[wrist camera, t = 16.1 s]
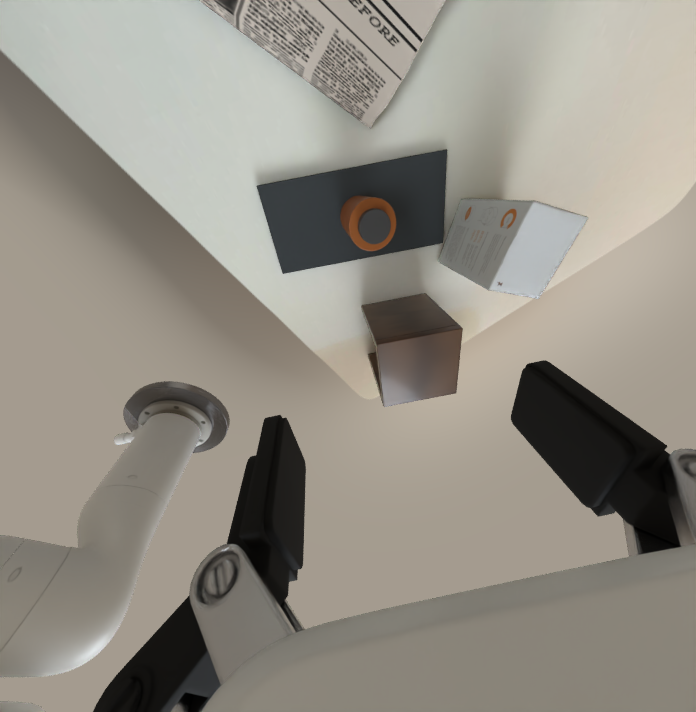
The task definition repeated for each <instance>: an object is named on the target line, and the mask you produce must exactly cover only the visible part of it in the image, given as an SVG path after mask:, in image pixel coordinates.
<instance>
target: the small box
mask: <svg viewBox="0 0 696 712" xmlns="http://www.w3.org/2000/svg"><path fill="white" fill-rule="evenodd" d="M587 220H588V217H586V216H583V215H580V214H576V213H573V212H570V211H567V210H563V209H560V208H557V207H554V206H551V205H548V204H544V203H541V202H538V201H521V200H492V199H461V201H460V204H459V206H458V209H457V212H456V214H455V217H454V220H453V222H452V225H451V228H450V230H449V233H448V236H447V238H446V241H445V244H444V246H443V249H442V252H441V255H440V257H439V260H438V262H440V263H441V264H443V265H445V266H447V267H448V268H450V269H451V270H453V271H455V272H457V273H459V274H461V275H462V276H464V277H466V278H468V279H470V280H471V281H473V282H475V283H477V284H478V285H480V286H482V287H484V288H486V289H487V290H490V291H497V292H503V293H508V294H514V295H520V296H525V297H530V298H535V299H539V298H540V296H541V295H542V293H543V291H544V290H545V288H546V286H547V285H548V283H549V281H550V280H551V278H552V277H553V275H554V273H555V272H556V270H557V268H558V267H559V265H560V263H561V262H562V260H563V259H564V257H565V255H566V254H567V252H568V250H569V249H570V247H571V246H572V244H573V242H574V241H575V239H576V237H577V236H578V234H579V232H580V231H581V229H582V228H583V226H584V224H585V223H586V221H587Z"/></svg>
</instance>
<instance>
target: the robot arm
mask: <svg viewBox="0 0 696 712" xmlns="http://www.w3.org/2000/svg"><path fill="white" fill-rule="evenodd" d="M511 420H512V422H513V424H514V426H515V427H516V428H517V429H518V430H519V431H520V433H521V434H522V435H523V436H524V437H525V438H526V440H527V441H528V442H529V443H530V444H531V445H532V446H533V448H534V449H535V450H536V451H537V452H538V453H539V454H540V455H541V457H542V458H543V459H544V460H545V461H546V463H547V464H548V465H549V466H550V467H551V468H552V469H553V471H554V472H555V473H556V474H557V475H558V476H559V477H560V479H561V480H562V481H563V482H564V483H565V484H566V485H567V487H568V488H569V489H570V490H571V491H572V492H573V493H574V495H575V496H576V497H577V498H578V499H579V500H580V502H581V503H583V504H584V505H585V506H586V507H589V508H591V509H592V510H593V511H594V513H595V514H596V515H597V516H603V515H608V514H612V513H614V512H615V511H616V512H617V513H618V514H619V515H620V516H621V517H622V518H623V522H624V528H625V534H626V541H627V547H628V553H629V557H627V558H622V559H617V560H612V561H607V562H603V563H598V564H593V565H588V566H584V567H578V568H573V569H569V570H564V571H559V572H554V573H550V574H545V575H541V576H535V577H531V578H526V579H521V580H516V581H512V582H507V583H503V584H498V585H493V586H488V587H484V588H479V589H474V590H470V591H465V592H460V593H456V594H451V595H446V596H442V597H437V598H432V599H428V600H423V601H419V602H414V603H410V604H405V605H401V606H396V607H391V608H387V609H382V610H378V611H373V612H369V613H365V614H361V615H357V616H353V617H349V618H344V619H340V620H336V621H332V622H328V623H324V624H322V625H318V626H315V627H311V628H308V629H304V627H303V626H302V624H301V622H300V621H299V619H298V618H297V616H296V615H295V613H294V612H293V610H292V609H291V607H290V605H289V604H288V602H287V601H286V597H287V596H288V586H289V585H288V584H289V582H290V581H295V580H297V573H298V569H301V568H302V566H303V545H304V510H305V473H306V467H305V460H304V458H303V456H302V453H301V451H300V448H299V446H298V444H297V441H296V439H295V437H294V434H293V432H292V429H291V427H290V425H289V422H288V420H287V418H282V417H281V415H278V416H273V417H268V418H265V419H264V423H263V427H262V432H261V437H260V441H259V445H258V450H257V455H256V456H252V457H250V458H249V459H248V462H247V465H246V469H245V473H244V477H243V481H242V485H241V489H240V493H239V497H238V501H237V505H236V509H235V513H234V517H233V521H232V525H231V529H230V533H229V537H228V542H227V544H225V545H222V546H220V547H218V548H216V549H215V550H213V551H212V552H211V553H210V554H208V555H207V557H206V558H205V559H204V560H203V561H202V562H201V564H200V565H199V567H198V569H197V570H196V572H195V574H194V577H193V579H192V582H191V586H190V593H189V594H190V595H189V596H188V598H187V599H186V600H185V601H184V602H183V603H182V604H181V605H180V606H179V607H178V609H177V610H176V611H175V612H174V613H173V614H172V615H171V616H170V617H169V618H168V619H167V621H166V622H165V623H164V624H163V625H162V626H161V627H160V628H159V629H158V630H157V632H156V633H155V634H154V635H153V636H152V637H151V638H150V639H149V641H148V642H146V644H145V645H144V646H143V647H142V648H141V649H140V650H139V651H138V652H137V653H136V655H135V656H134V657H133V658H132V659H131V660H130V661H129V662H128V663H127V664H126V666H124V668H123V669H122V670H121V671H120V672H119V673H118V674H117V675H116V677H115V678H114V679H113V680H112V682H111V683H110V684H109V685H108V687H107V688H106V689H105V691H104V693H103V695H102V696H101V698H100V699H99V701H98V703H97V704H96V707H95V709H94V711H93V712H696V450H693V449H679V450H675V451H673V452H672V453H671V455H670V454H669V453H667V452H666V451H665V448H666V447H667V445H665V444H664V443H663V442H661V441H660V440H658V439H657V438H655V437H654V436H653V435H651V434H650V433H648V432H647V431H646V430H644V429H643V428H641V427H640V426H638V425H637V424H636V423H634V422H633V421H631V420H630V419H629V418H627V417H626V416H624V415H623V414H622V413H620V412H619V411H617V410H616V409H614V408H613V407H612V406H610V405H609V404H607V403H606V402H605V401H603V400H602V399H600V398H599V397H597V396H596V395H595V394H593V393H592V392H590V391H589V390H588V389H586V388H585V387H583V386H582V385H581V384H579V383H578V382H576V381H575V380H573V379H572V378H571V377H569V376H568V375H567V374H565V373H563V372H562V371H561V370H559V369H558V368H557V367H555V366H554V365H552V364H551V363H550V362H548V361H539V362H534V363H529V364H527V365H526V367H525V368H524V369H523V371H522V374H521V378H520V382H519V386H518V390H517V394H516V398H515V402H514V406H513V410H512V414H511ZM138 423H139V427H138V429H136V430H133V431H132V432H131V433H124V434H118V435H116V436H115V438H114V443H115V444H117V445H121V444H126V443H130V442H131V443H130V444H129V445H128V447H127V448H126V449H125V451H124V452H123V454H122V455H121V456H120V458H119V459H118V460H117V462H116V463H115V464H114V466H113V467H112V468H111V470H110V471H109V472H108V474H107V475H106V476H105V478H104V479H103V481H102V482H101V483H100V485H99V486H98V487H97V489H96V490H95V491H94V493H93V494H92V495H91V497H90V498H89V500H88V501H87V502H86V504H85V505H84V507H83V509H82V511H81V514H80V517H79V521H78V529H77V530H78V531H77V534H78V548H74V547H65V546H59V545H55V544H50V543H45V542H40V541H35V540H30V539H24V538H19V537H12V536H5V535H0V677H41V676H50V675H55V674H60V673H64V672H67V671H70V670H73V669H75V668H77V667H79V666H81V665H83V664H85V663H86V662H88V661H89V660H91V659H92V658H94V657H95V656H96V655H97V654H98V653H99V652H100V651H102V650H103V648H104V647H105V646H106V645H107V644H108V643H109V641H110V640H111V639H112V637H113V636H114V635H115V633H116V631H117V630H118V628H119V626H120V624H121V623H122V620H123V618H124V616H125V614H126V612H127V609H128V607H129V604H130V601H131V598H132V595H133V592H134V589H135V586H136V582H137V579H138V575H139V572H140V569H141V566H142V563H143V561H144V558H145V555H146V552H147V549H148V547H149V545H150V542H151V540H152V538H153V535H154V533H155V531H156V529H157V527H158V524H159V522H160V520H161V518H162V516H163V514H164V512H165V509H166V507H167V505H168V503H169V501H170V499H171V497H172V495H173V493H174V491H175V488H176V486H177V484H178V482H179V480H180V478H181V476H182V474H183V472H184V469H185V467H186V465H187V463H188V461H189V459H190V457H191V455H192V453H193V451H194V448H195V447H196V446H198V445H201V444H202V443H204V442H205V441H206V440H207V439H208V438H209V436H210V434H211V430H212V425H211V421H210V420H209V418H208V417H207V415H206V414H205V413H204V412H202V411H201V410H200V409H198V408H197V407H195V406H193V405H190V404H188V403H184V402H181V401H174V400H164V401H158V402H154V403H152V404H150V405H148V406H147V407H146V408H144V410H143V411H142V412H141V414H140V416H139V419H138ZM22 542H23V543H22ZM17 548H18V549H17ZM13 553H14V554H13ZM12 554H13V555H12ZM7 560H8V561H7ZM6 561H7V562H6ZM2 566H3V567H2ZM1 567H2V568H1ZM0 712H45V711H44V710H43V708H42V707H40V706H38V705H35V704H32V703H24V702H8V701H2V702H1V701H0Z"/></svg>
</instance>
